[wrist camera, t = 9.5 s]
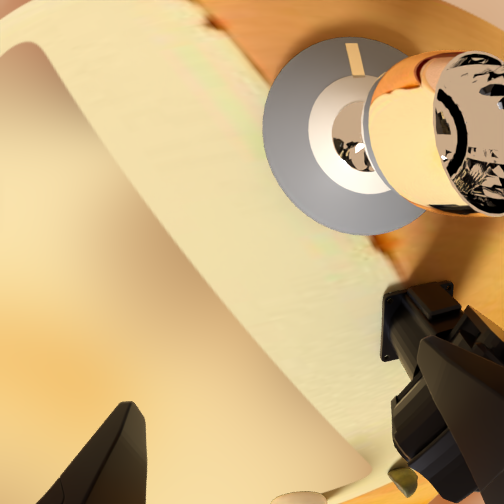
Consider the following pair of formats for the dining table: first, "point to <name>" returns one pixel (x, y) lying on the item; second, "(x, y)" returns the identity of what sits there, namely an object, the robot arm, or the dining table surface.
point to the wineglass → (432, 132)
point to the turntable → (319, 137)
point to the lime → (404, 480)
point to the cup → (300, 498)
